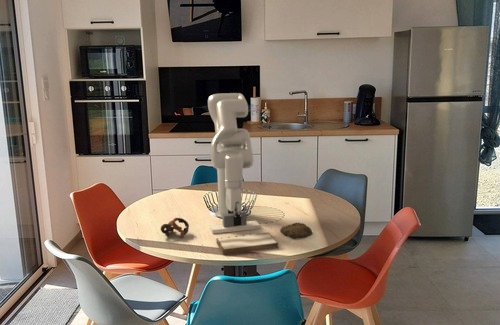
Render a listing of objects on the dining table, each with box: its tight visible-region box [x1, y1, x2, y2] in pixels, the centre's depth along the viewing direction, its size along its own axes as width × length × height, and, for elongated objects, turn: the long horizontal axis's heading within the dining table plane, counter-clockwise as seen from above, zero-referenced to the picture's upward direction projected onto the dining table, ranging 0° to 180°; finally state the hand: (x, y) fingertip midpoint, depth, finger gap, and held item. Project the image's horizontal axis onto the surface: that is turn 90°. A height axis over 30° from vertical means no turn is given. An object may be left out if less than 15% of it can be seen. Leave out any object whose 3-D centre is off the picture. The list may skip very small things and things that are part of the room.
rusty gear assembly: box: [160, 217, 190, 239], centre depth 198 cm, size 12×10×8 cm
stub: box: [208, 211, 261, 235], centre depth 205 cm, size 6×21×7 cm, turn 106°
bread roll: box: [280, 222, 313, 240], centre depth 200 cm, size 13×12×5 cm
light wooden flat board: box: [215, 232, 279, 256], centre depth 188 cm, size 12×22×2 cm, turn 106°
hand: (234, 221), depth 205 cm, fingers open, 9 cm apart
